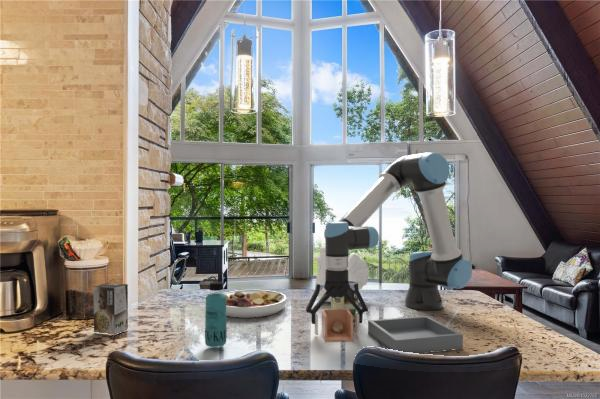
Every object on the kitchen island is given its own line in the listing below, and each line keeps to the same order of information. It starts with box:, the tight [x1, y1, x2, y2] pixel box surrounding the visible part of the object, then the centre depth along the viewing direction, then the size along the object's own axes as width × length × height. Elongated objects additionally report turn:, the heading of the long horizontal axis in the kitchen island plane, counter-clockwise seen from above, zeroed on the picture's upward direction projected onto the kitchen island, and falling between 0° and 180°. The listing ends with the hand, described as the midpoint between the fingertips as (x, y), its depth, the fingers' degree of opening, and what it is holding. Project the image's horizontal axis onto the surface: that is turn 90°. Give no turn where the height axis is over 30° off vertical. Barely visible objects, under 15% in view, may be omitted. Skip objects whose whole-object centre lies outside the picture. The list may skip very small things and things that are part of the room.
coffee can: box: [330, 281, 359, 326], centre depth 150 cm, size 10×10×14 cm
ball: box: [332, 321, 343, 333], centre depth 135 cm, size 4×4×4 cm
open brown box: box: [321, 308, 354, 342], centre depth 134 cm, size 9×9×8 cm
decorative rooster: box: [314, 246, 370, 303], centre depth 178 cm, size 25×16×25 cm, turn 94°
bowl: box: [222, 289, 287, 319], centre depth 167 cm, size 30×30×8 cm
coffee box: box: [93, 282, 129, 335], centre depth 137 cm, size 9×6×16 cm
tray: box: [367, 315, 464, 354], centre depth 129 cm, size 22×20×4 cm
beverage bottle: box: [204, 281, 228, 348], centre depth 123 cm, size 6×7×20 cm
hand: (336, 333), depth 134 cm, fingers open, 13 cm apart
